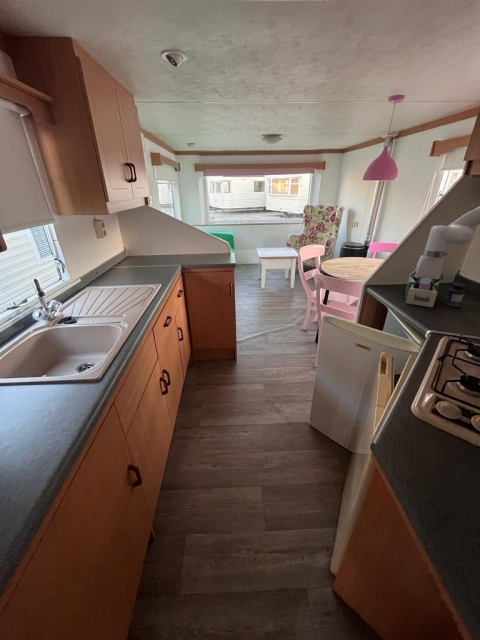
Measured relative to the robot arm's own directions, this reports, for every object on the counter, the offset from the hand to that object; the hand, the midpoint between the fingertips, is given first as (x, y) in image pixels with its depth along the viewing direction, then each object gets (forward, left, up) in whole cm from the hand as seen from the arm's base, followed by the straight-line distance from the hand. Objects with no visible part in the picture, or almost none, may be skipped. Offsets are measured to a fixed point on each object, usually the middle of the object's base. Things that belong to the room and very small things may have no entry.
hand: (422, 290), depth 131 cm
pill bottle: (-15, -3, -7) cm, 17 cm away
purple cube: (0, 0, 0) cm, 0 cm away
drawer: (0, 0, -6) cm, 6 cm away
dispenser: (-2, -11, -7) cm, 14 cm away
